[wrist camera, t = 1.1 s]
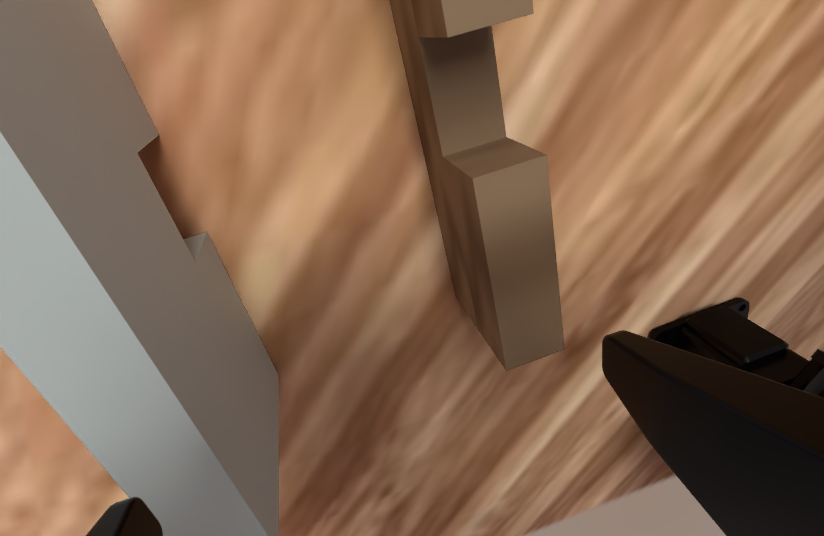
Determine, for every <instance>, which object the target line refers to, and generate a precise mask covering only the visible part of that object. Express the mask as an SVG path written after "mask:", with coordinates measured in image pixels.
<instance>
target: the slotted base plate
mask: <svg viewBox="0 0 824 536" xmlns="http://www.w3.org/2000/svg"><path fill="white" fill-rule="evenodd" d="M390 4H391V9H392V13H393V17H394V22H395V26H396V31H397V35H398V40H399V44H400V49H401V53H402V58H403V62H404V67H405V71H406V76H407V80H408V85H409V89H410V93H411V98H412V102H413V107H414V111H415V116H416V120H417V125H418V129H419V134H420V138H421V143H422V147H423V152H424V156H425V161H426V165H427V170H428V174H429V178H430V183H431V187H432V192H433V196H434V201H435V205H436V210H437V214H438V219H439V223H440V228H441V232H442V237H443V241H444V246H445V250H446V254H447V259H448V263H449V268H450V272H451V277H452V281H453V286H454V290H455V295H456V297H457V299H458V300H459V302H460V303H461V305H462V306H463V308H464V309H465V311H466V312H467V314H468V315H469V317H470V318H471V319H472V321H473V322H474V324H475V325H476V327H477V328H478V330H479V331H480V333H481V334H482V336H483V337H484V339H485V340H486V342H487V343H488V344H489V346H490V347H491V349H492V350H493V352H494V353H495V355H496V356H497V358H498V359H499V361H500V362H501V364H502V365H503V366H504V368H505V369H506V371H507V370H510V369H513V368H515V367H518V366H521V365H523V364H526V363H529V362H532V361H534V360H537V359H540V358H542V357H545V356H548V355H550V354H553V353H556V352H558V351H561V350H564V339H563V328H562V317H561V306H560V295H559V284H558V273H557V263H556V252H555V241H554V230H553V219H552V208H551V197H550V187H549V176H548V165H547V155H546V154H543V153H541V152H539V151H537V150H534V149H532V148H530V147H527V146H525V145H523V144H521V143H518V142H516V141H514V140H512V139H509V138H507V137H506V132H505V124H504V117H503V109H502V102H501V94H500V87H499V79H498V72H497V64H496V57H495V49H494V42H493V34H492V27H491V25H494V24H498V23H502V22H505V21H509V20H512V19H516V18H519V17H523V16H526V15H530V14H534V13H533V2H532V0H390Z"/></svg>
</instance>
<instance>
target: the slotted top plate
mask: <svg viewBox="0 0 824 536" xmlns="http://www.w3.org/2000/svg"><path fill="white" fill-rule="evenodd" d="M158 135H159V134H158V132H157V130H156V128H155V126H154V124H153V122H152V120H151V118H150V116H149V114H148V112H147V110H146V108H145V106H144V104H143V102H142V100H141V98H140V96H139V94H138V92H137V90H136V88H135V86H134V84H133V82H132V80H131V78H130V76H129V74H128V72H127V70H126V68H125V66H124V64H123V62H122V60H121V58H120V56H119V54H118V52H117V50H116V48H115V46H114V44H113V42H112V40H111V38H110V36H109V34H108V32H107V30H106V28H105V26H104V24H103V22H102V20H101V18H100V16H99V14H98V12H97V10H96V8H95V6H94V4H93V2H92V0H0V347H1V348H2V349H3V350H4V352H5V353H6V354H7V355H8V356H9V357H10V359H11V360H12V361H13V362H14V363H15V364H16V366H17V367H18V368H19V369H20V370H21V371H22V373H23V374H24V375H25V376H26V377H27V379H28V380H29V381H30V382H31V383H32V384H33V386H34V387H35V388H36V389H37V390H38V391H39V393H40V394H41V395H42V396H43V397H44V398H45V400H46V401H47V402H48V403H49V404H50V405H51V407H52V408H53V409H54V410H55V411H56V412H57V414H58V415H59V416H60V417H61V418H62V419H63V421H64V422H65V423H66V424H67V425H68V426H69V428H70V429H71V430H72V431H73V432H74V433H75V435H76V436H77V437H78V438H79V439H80V440H81V442H82V443H83V444H84V445H85V446H86V447H87V449H88V450H89V451H90V452H91V453H92V454H93V456H94V457H95V458H96V459H97V460H98V462H99V463H100V464H101V465H102V466H103V467H104V469H105V470H106V471H107V472H108V473H109V474H110V476H111V477H112V478H113V479H114V480H115V481H116V483H117V484H118V485H119V486H120V487H121V488H122V490H123V491H124V492H125V493H126V494H127V495H128V497H129V498H132V497H139V498H141V499H142V500H143V501H144V503H145V504H146V505H147V507H148V508H149V509H150V511H151V512H152V513H153V514H154V516H155V517H156V518H157V520H158V521H159V523H160V525H161V527H162V532H163V536H279V375H278V373H277V371H276V369H275V367H274V365H273V363H272V361H271V359H270V357H269V355H268V353H267V351H266V349H265V347H264V345H263V343H262V341H261V339H260V337H259V335H258V333H257V331H256V329H255V327H254V325H253V323H252V321H251V319H250V317H249V315H248V313H247V311H246V309H245V307H244V305H243V303H242V301H241V299H240V297H239V295H238V293H237V291H236V289H235V287H234V285H233V283H232V281H231V279H230V277H229V275H228V273H227V271H226V269H225V267H224V265H223V263H222V261H221V259H220V257H219V255H218V253H217V251H216V249H215V247H214V245H213V243H212V241H211V239H210V237H209V235H208V233H207V232H205V233H201V234H198V235H195V236H192V237H189V238H185V239H183V238H182V236H181V234H180V232H179V231H178V229H177V227H176V225H175V223H174V221H173V219H172V217H171V216H170V214H169V212H168V210H167V208H166V206H165V204H164V202H163V200H162V199H161V197H160V195H159V193H158V191H157V189H156V187H155V185H154V183H153V182H152V180H151V178H150V176H149V174H148V172H147V170H146V168H145V167H144V165H143V163H142V161H141V159H140V157H139V155H138V152H139V151H140V150H141V149H143V148H144V147H145V146H146V145H147V144H149V143H150V142H151V141H152V140H154V139H155V138H156V137H157V136H158Z"/></svg>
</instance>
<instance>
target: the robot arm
mask: <svg viewBox="0 0 824 536" xmlns="http://www.w3.org/2000/svg"><path fill="white" fill-rule="evenodd" d="M748 312H749V302H748V301H747V300H745V299H743V298H737V299H734V300H731V301H729V302H726V303H723V304H721V305H718V306H715V307H713V308H710V309H707V310H705V311H702V312H699V313H697V314H694V315H691V316H689V317H686V318H683V319H681V320H678V321H675V322H673V323H670V324H667V325H665V326H662V327H659V328H657V329H655V330H654V331H653V332H652V333H651V336H650V339H649V338H646V337H643V336H640V335H637V334H634V333H631V332H628V331H623V330H622V331H618V332H615V333H612V334H609V335H606V336H605V337H604V339H603V342H602V368H603V372H604V375H605V377H606V379H607V380H608V382H609V383H610V385H611V386H612V388H613V389H614V391H615V392H616V394H617V395H618V397H619V398H620V400H621V401H622V403H623V404H624V406H625V407H626V409H627V410H628V412H629V413H630V415H631V416H632V418H633V419H634V421H635V422H636V424H637V425H638V427H639V428H640V430H641V431H642V433H643V434H644V435H645V437H646V438H647V440H648V441H649V442H650V444H651V445H652V446H653V448H654V449H655V450H656V451H657V453H658V454H659V455H660V456H661V457H662V459H663V460H664V461H665V462H666V464H667V465H668V466H669V467H670V468H671V470H672V471H673V472H674V473H675V474H676V476H677V477H678V478H679V479H680V480H681V482H682V483H683V484H684V485H685V486H686V487H687V489H688V490H689V491H690V492H691V494H692V495H693V496H694V497H695V498H696V500H697V501H698V502H699V503H700V504H701V506H702V507H703V508H704V509H705V510H706V512H707V513H708V514H709V515H710V516H711V518H712V519H713V520H714V521H715V523H716V524H717V525H718V526H719V527H720V529H721V530H722V531H723V532H724V533H725V535H726V536H824V351H822V350H819V349H817V350H816V352H815V353H814V354H813V355H812V356H811V358H812V359H811V361H808V360H806V359H805V358H803V357H801V356H800V355H798V354H797V353H795V352H793V351H792V350H790V349H788V344H787V343H786V342H785V341H783V340H782V339H780V338H778V337H777V336H775V335H773V334H772V333H770V332H768V331H767V330H765V329H763V328H762V327H760V326H758V325H757V324H755V323H753V322H752V321H750V320H748V319H747V318H748ZM86 536H163V532H162V527H161V525H160V523H159V521H158V520H157V518H156V517H155V516H154V514H153V513H152V512H151V511H150V509H149V508H148V507H147V505H146V504H145V503H144V501H143V500H142V499H141V498H139V497H132V498H129V499H126V500H123V501H120V502H117V503H115V504H113V505H111V506H110V507H109V508H108V509H107V510H106V512H105V513H104V514H103V515H102V517H101V518H100V519H99V520H98V521H97V523H96V524H95V525H94V526H93V528H92V529H91V530H90V531H89V532H88V534H87V535H86Z"/></svg>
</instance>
